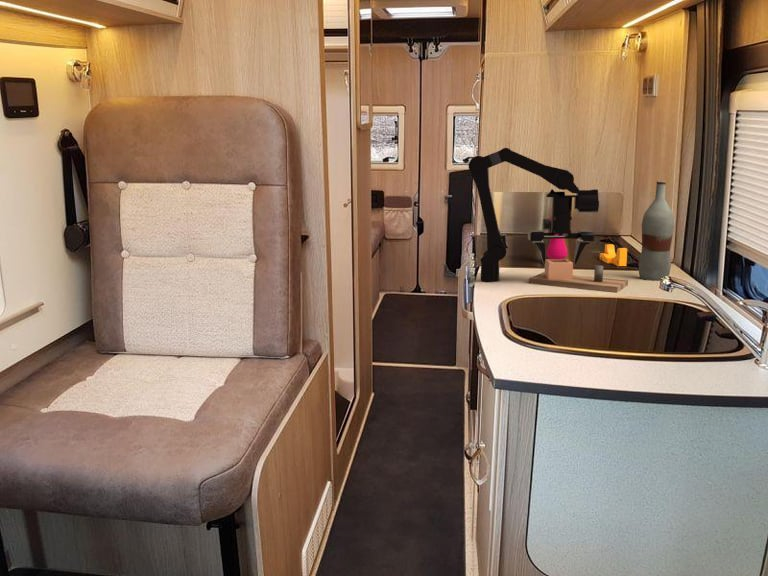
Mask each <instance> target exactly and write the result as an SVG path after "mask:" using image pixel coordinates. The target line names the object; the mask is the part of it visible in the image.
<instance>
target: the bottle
mask: <svg viewBox="0 0 768 576" xmlns="http://www.w3.org/2000/svg"><path fill="white" fill-rule="evenodd" d="M655 185H656V186H655V196H654V198H655V199H654V200H653V201H652V203H650V204H649V206H648V208H647V209H646V210H645V211H644V214H643V217H642V221H641V226H640V227H641V252H640V256H639V260H638V274H639V275H638V276H639V278H640V279H642V280H646V281H662V280H661V278H663V277H665V276H670V273H671V269H672V258H671V256H672V255H671V247H672V242H673V241H672V240H673V236H674V235H673V234H674V230H675V216H674V213H673V210H672V209H671V207H670V205H669V204H668V202H667V200H666V189H667V188H666V185H667V181H666V180H657V181H656V184H655Z"/></svg>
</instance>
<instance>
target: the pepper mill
mask: <svg viewBox="0 0 768 576" xmlns="http://www.w3.org/2000/svg"><path fill="white" fill-rule="evenodd" d="M551 217H552V215H550V217H549V220H550V221H551ZM556 235H559V234H554V236H556ZM545 256H546V257H547V258H548V259H566V257H568V248H567V246H566V243H565V239H550V241H549V243H548V246H547V248H546V250H545Z"/></svg>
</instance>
